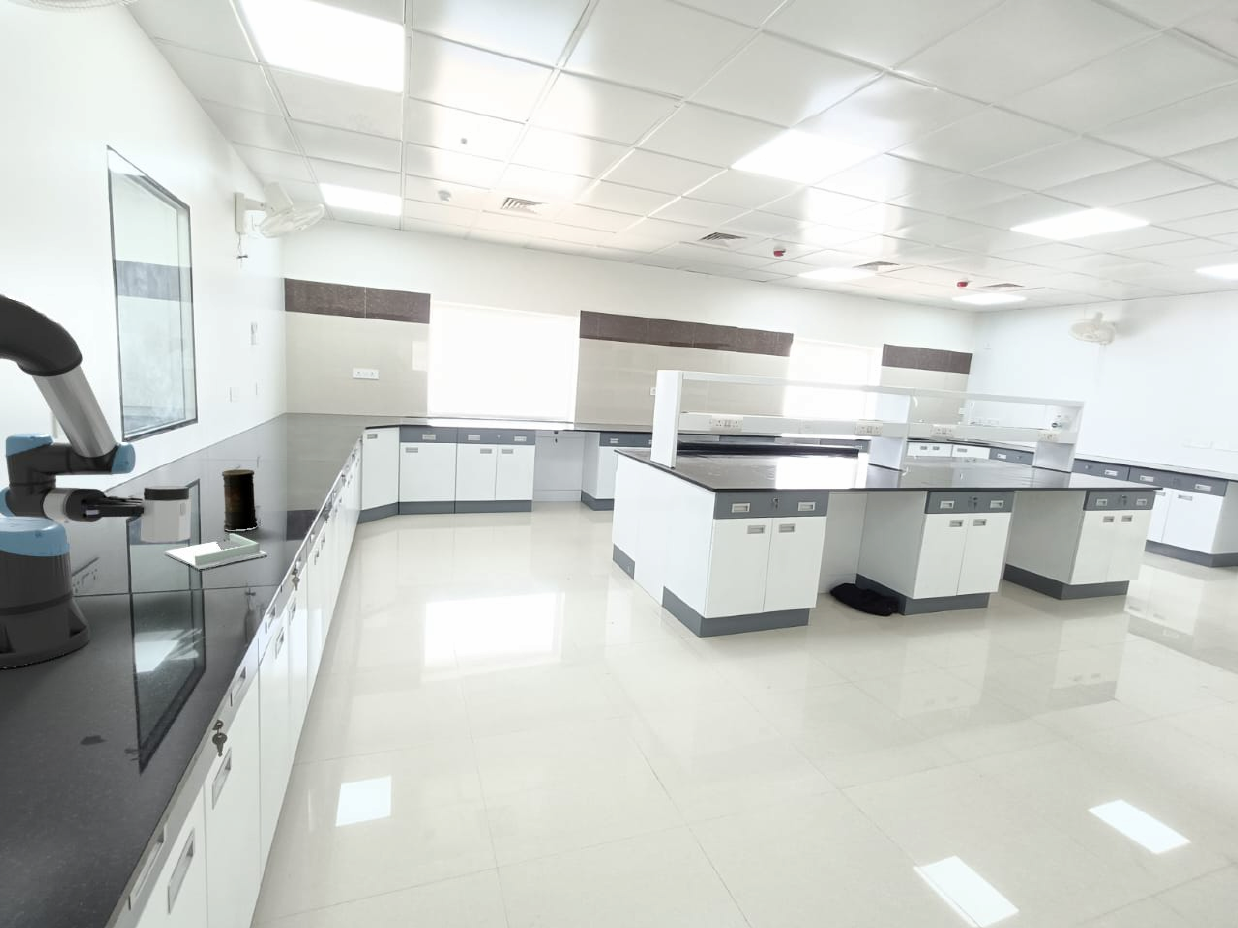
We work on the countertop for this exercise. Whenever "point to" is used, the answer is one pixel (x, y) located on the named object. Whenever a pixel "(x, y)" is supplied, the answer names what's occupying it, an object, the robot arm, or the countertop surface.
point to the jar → (165, 514)
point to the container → (239, 499)
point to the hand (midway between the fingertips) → (183, 509)
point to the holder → (215, 552)
